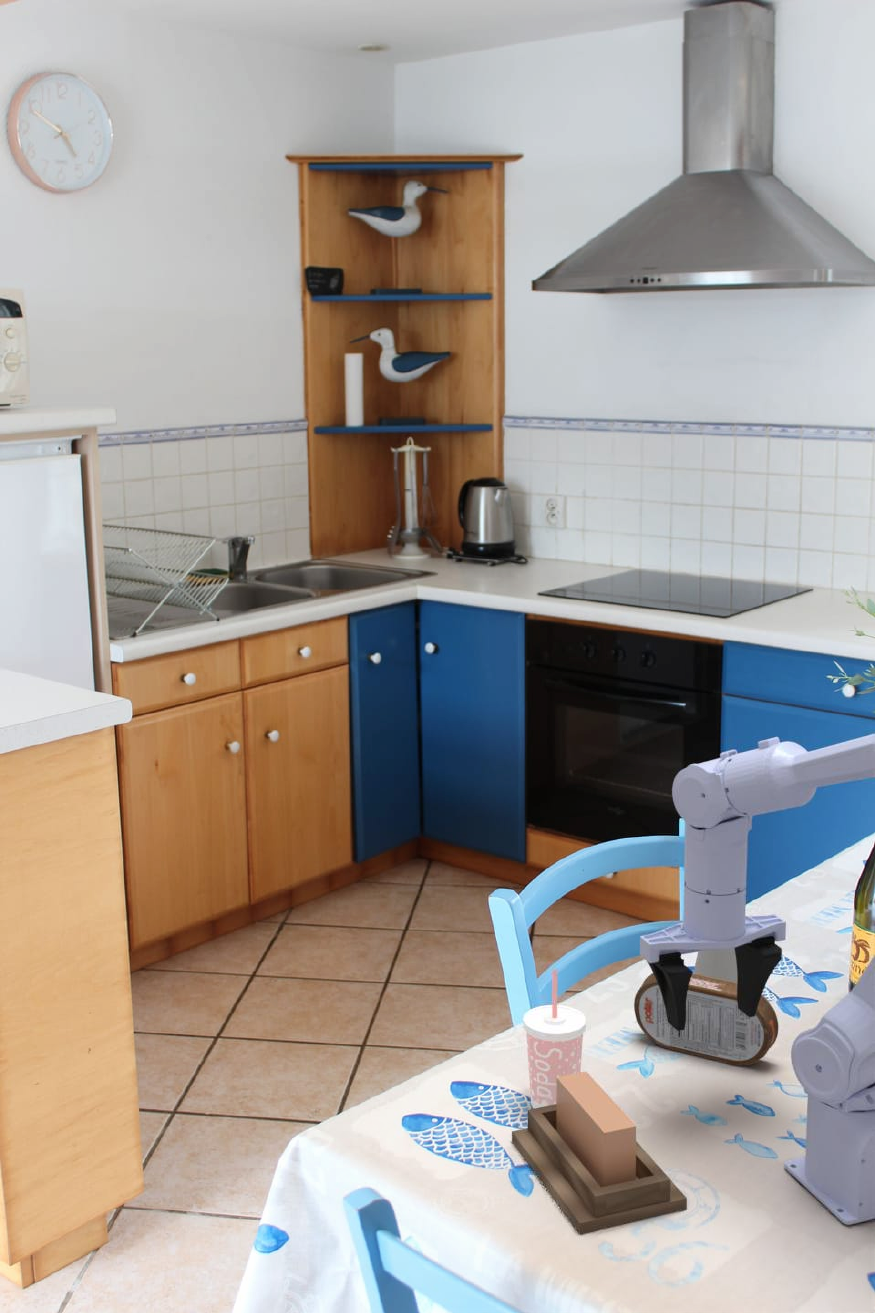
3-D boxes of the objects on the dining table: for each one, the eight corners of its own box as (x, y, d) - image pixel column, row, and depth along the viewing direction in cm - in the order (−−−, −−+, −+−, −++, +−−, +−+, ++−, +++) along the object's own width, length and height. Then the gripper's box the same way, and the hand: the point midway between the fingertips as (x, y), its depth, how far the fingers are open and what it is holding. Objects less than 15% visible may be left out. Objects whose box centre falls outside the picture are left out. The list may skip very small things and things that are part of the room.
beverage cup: (510, 1104, 134) (509, 971, 131) (550, 1081, 138) (550, 951, 135) (558, 1127, 129) (558, 990, 126) (598, 1103, 134) (599, 969, 131)
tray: (686, 1209, 116) (687, 1177, 116) (579, 1234, 113) (579, 1201, 113) (609, 1120, 130) (609, 1092, 130) (512, 1141, 127) (511, 1111, 127)
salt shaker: (683, 987, 158) (685, 881, 156) (724, 977, 161) (727, 873, 158) (714, 1007, 153) (716, 898, 150) (755, 997, 155) (758, 889, 153)
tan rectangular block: (635, 1189, 118) (636, 1126, 116) (603, 1196, 117) (604, 1133, 115) (586, 1130, 127) (586, 1071, 126) (556, 1137, 126) (556, 1077, 125)
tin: (778, 1064, 141) (780, 988, 139) (769, 1077, 138) (771, 1000, 136) (640, 1032, 148) (641, 959, 146) (629, 1044, 145) (630, 970, 144)
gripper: (759, 860, 133) (755, 989, 136) (625, 880, 129) (624, 1013, 132) (800, 885, 127) (795, 1020, 130) (661, 907, 122) (658, 1046, 125)
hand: (711, 1019), depth 130 cm, fingers open, 7 cm apart
